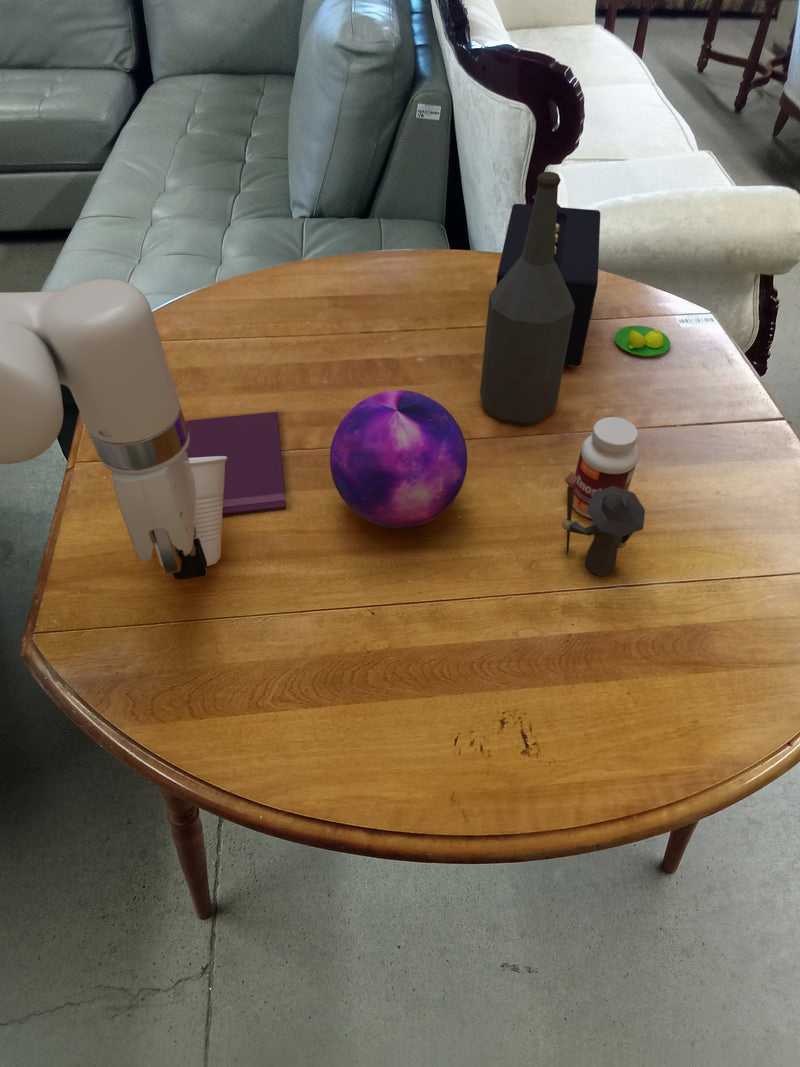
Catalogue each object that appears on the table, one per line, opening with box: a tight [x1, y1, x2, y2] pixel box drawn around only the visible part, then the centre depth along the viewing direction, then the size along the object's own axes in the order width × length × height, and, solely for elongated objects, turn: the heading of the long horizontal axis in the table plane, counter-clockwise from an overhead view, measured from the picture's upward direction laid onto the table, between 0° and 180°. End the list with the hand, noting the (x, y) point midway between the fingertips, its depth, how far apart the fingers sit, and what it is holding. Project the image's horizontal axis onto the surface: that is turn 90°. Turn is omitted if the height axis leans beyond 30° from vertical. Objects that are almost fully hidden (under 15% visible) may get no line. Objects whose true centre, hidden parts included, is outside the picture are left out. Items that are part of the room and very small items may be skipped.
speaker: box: [495, 203, 601, 368], centre depth 109 cm, size 22×13×15 cm, turn 169°
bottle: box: [479, 171, 575, 426], centre depth 91 cm, size 10×10×30 cm
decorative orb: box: [329, 389, 468, 529], centre depth 83 cm, size 15×15×15 cm
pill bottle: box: [573, 416, 639, 520], centre depth 85 cm, size 6×6×11 cm
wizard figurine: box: [561, 471, 646, 577], centre depth 78 cm, size 8×6×12 cm
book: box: [185, 411, 287, 517], centre depth 93 cm, size 14×18×1 cm
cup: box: [154, 456, 227, 567], centre depth 79 cm, size 10×10×11 cm
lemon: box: [614, 325, 671, 357], centre depth 111 cm, size 8×8×3 cm
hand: (191, 572), depth 76 cm, fingers closed
